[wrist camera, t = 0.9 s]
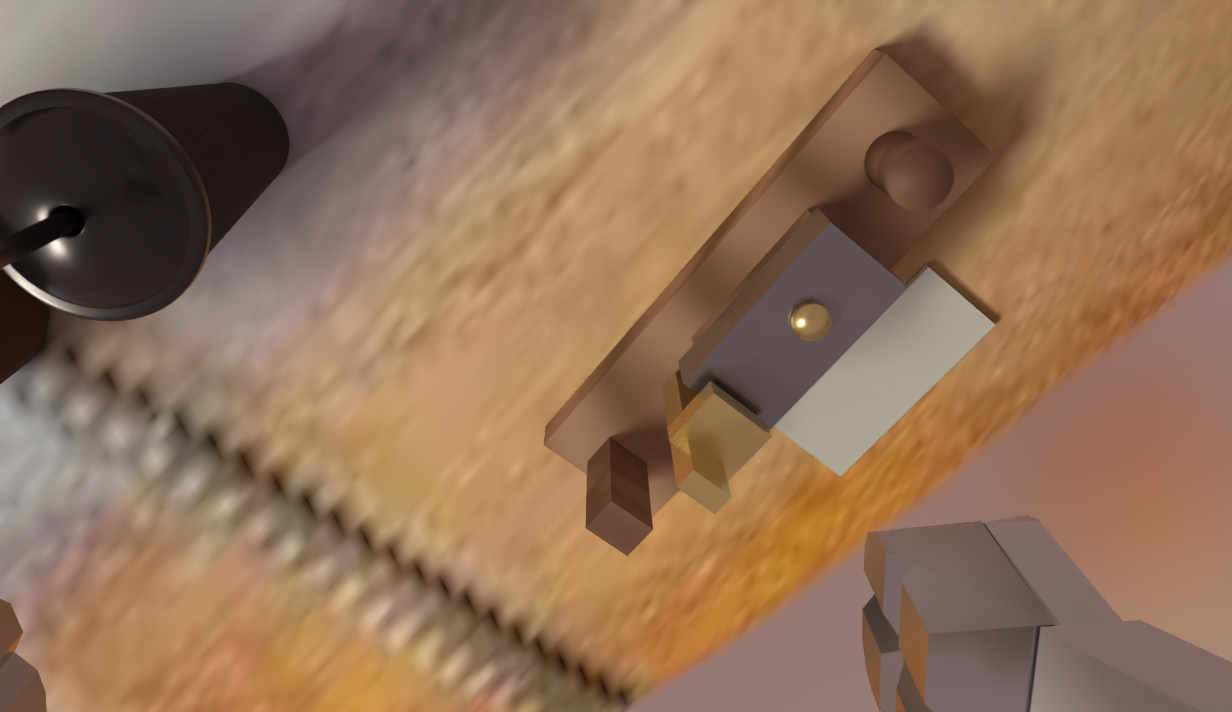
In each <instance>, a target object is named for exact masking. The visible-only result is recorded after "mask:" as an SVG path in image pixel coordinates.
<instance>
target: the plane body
mask: <svg viewBox="0 0 1232 712" xmlns="http://www.w3.org/2000/svg"><path fill="white" fill-rule="evenodd" d="M996 158H997V156H996V155H995V154H994V153H992V152H991V151H990V150H989V149H988V148H987V147H986V146H985V145H984V144H983V143H982V142H981V141H980V140H978V139H977V138H976V137H975V136H974V135H973V134H972V133H971V132H970V131H969V130H968V129H967V128H966V127H965V126H963V125H962V124H961V123H960V122H959V121H958V120H957V119H956V118H955V117H954V116H953V115H952V114H951V113H950V112H948V111H947V110H946V109H945V108H944V107H943V106H942V105H941V104H940V103H939V102H938V101H937V100H936V99H934V98H933V97H932V96H931V95H930V94H929V93H928V92H927V91H926V90H925V89H924V88H923V87H922V86H921V85H919V84H918V83H917V82H916V81H915V80H914V79H913V78H912V77H911V76H910V75H909V74H908V73H907V72H906V71H904V70H903V69H902V68H901V67H900V66H899V65H898V64H897V63H896V62H895V61H894V60H893V59H892V58H890V57H889V56H888V55H887V54H886V53H883V52H880V51H877V50H875V49H873V51H872V52H871V53H870V54H869V55H868V56H867V57H866V59H865V60H864V61H863V62H862V63H861V64H860V65H859V67H858V68H857V69H856V70H855V71H854V72H853V74H852V75H851V76H850V77H849V78H848V79H847V80H846V82H845V83H844V84H843V85H842V86H841V87H840V88H839V90H838V91H837V92H836V93H835V94H834V95H833V97H832V98H831V99H830V100H829V101H828V102H827V103H826V105H825V106H824V107H823V108H822V109H821V110H820V111H819V113H818V114H817V115H816V116H815V117H814V118H813V120H812V121H811V122H810V123H809V124H808V125H807V126H806V128H805V129H804V130H803V131H802V132H801V133H800V134H799V136H798V137H797V138H796V139H795V140H794V141H793V143H792V144H791V145H790V146H789V147H788V148H787V149H786V151H785V152H784V153H783V154H782V155H781V156H780V157H779V159H778V160H777V161H776V162H775V163H774V164H773V166H772V167H771V168H770V169H769V170H768V171H767V172H766V174H765V175H764V176H763V177H762V178H761V179H760V180H759V182H758V183H757V184H756V185H755V186H754V187H753V189H752V190H751V191H750V192H749V193H748V194H747V195H746V197H745V198H744V199H743V200H742V201H741V202H740V203H739V205H738V206H737V207H736V208H735V209H734V210H733V212H732V213H731V214H730V215H729V216H728V217H727V218H726V220H725V221H724V222H723V223H722V224H721V225H720V227H719V228H718V229H717V230H716V231H715V232H714V233H713V235H712V236H711V237H710V238H709V239H708V240H707V241H706V243H705V244H704V245H703V246H702V247H701V248H700V250H699V251H698V252H697V253H696V254H695V255H694V256H693V258H692V259H691V260H690V261H689V262H688V263H687V264H686V266H685V267H684V268H683V269H682V270H681V271H680V273H679V274H678V275H677V276H676V277H675V278H674V279H673V281H672V282H671V283H670V284H669V285H668V286H667V287H666V289H665V290H664V291H663V292H662V293H661V294H660V296H659V297H658V298H657V299H656V300H655V301H654V302H653V304H652V305H651V306H650V307H649V308H648V309H647V310H646V312H645V313H644V314H643V315H642V316H641V317H640V319H639V320H638V321H637V322H636V323H635V324H634V325H633V327H632V328H631V329H630V330H629V331H628V332H627V333H626V335H625V336H624V337H623V338H622V339H621V340H620V342H619V343H618V344H617V345H616V346H615V347H614V348H613V350H612V351H611V352H610V353H609V354H608V355H607V356H606V358H605V359H604V360H603V361H602V362H601V363H600V365H599V366H598V367H597V368H596V369H595V370H594V371H593V373H592V374H591V375H590V376H589V377H588V378H587V379H586V381H585V382H584V383H583V384H582V385H581V386H580V388H579V389H578V390H577V391H576V392H575V393H574V394H573V396H572V397H571V398H570V399H569V400H568V401H567V403H566V404H565V405H564V406H563V407H562V408H561V409H560V411H559V412H558V413H557V414H556V415H555V416H554V417H553V419H552V420H551V421H550V422H549V423H548V424H547V426H546V429H545V438H544V445H545V446H546V447H548V448H549V449H551V450H552V451H554V452H555V453H556V454H558V455H559V456H561V457H562V458H564V459H565V460H567V461H568V462H570V463H571V464H572V465H574V466H575V467H577V468H578V469H580V470H581V471H583V472H584V473H586V474H587V496H586V529H588V530H589V531H591V532H592V533H594V534H595V535H597V536H598V537H600V538H601V539H603V540H604V541H606V542H607V543H609V544H610V545H612V546H613V547H615V548H616V549H618V550H619V551H621V552H622V553H624V554H625V555H627V556H628V555H629V554H630V553H631V552H632V551H633V550H634V549H635V548H636V547H637V546H638V545H639V544H640V542H641V541H642V540H643V539H644V538H645V537H646V536H647V535H648V534H649V533H650V532H651V531H652V530H653V525H652V518H653V517H654V516H655V515H656V513H657V512H658V511H659V510H660V509H661V508H662V507H663V506H664V505H665V504H666V503H667V502H668V501H669V500H670V499H671V498H672V497H673V496H674V495H675V494H676V493H677V492H678V490H679V488H677V486H676V479H675V473H674V466H673V459H672V452H671V445H670V441H669V437H668V430H667V427H668V424H667V417H666V410H665V403H664V397H663V390H662V386H663V385H664V384H665V383H666V382H667V381H668V379H669V378H670V377H671V376H672V375H673V374H674V373H675V372H676V373H678V374H679V375H680V376H681V372H680V367H679V362H678V361H679V360H680V359H681V358H682V357H683V356H684V354H685V353H686V352H687V351H688V350H689V349H690V348H691V347H692V346H693V344H694V343H695V342H696V341H697V340H698V339H699V338H700V337H701V336H702V334H703V333H704V332H705V331H706V330H707V329H708V328H709V327H710V326H711V325H712V323H713V322H714V321H715V320H716V319H717V318H718V317H719V316H720V315H721V313H722V312H723V311H724V310H725V309H726V308H727V307H728V306H729V305H730V303H731V302H732V301H733V300H734V299H735V298H736V297H737V296H738V295H739V293H740V292H741V291H742V290H743V289H744V288H745V287H746V286H747V285H748V284H749V282H750V281H751V280H752V279H753V278H754V277H755V276H756V275H757V274H758V272H759V271H760V270H761V269H762V268H763V267H764V266H765V265H766V264H767V262H768V261H769V260H770V259H771V258H772V257H773V256H774V255H775V254H776V252H777V251H778V250H779V249H780V248H781V247H782V246H783V245H784V244H785V242H786V241H787V240H788V239H789V238H790V237H791V236H792V235H793V234H794V233H795V231H796V230H797V229H798V228H799V227H800V226H801V225H802V224H803V223H804V221H805V220H806V219H807V218H808V217H809V216H810V215H811V214H812V213H813V211H814V210H815V209H816V208H817V207H818V208H819V209H820V210H822V211H823V212H824V213H825V214H826V215H827V216H829V217H830V218H831V219H832V220H833V221H835V222H836V223H837V224H838V225H839V226H840V227H842V228H843V229H844V230H845V231H846V232H847V233H849V234H850V235H851V236H852V237H853V238H855V239H856V240H857V241H858V242H859V243H860V244H862V245H863V246H864V247H865V248H866V249H867V250H869V251H870V252H871V253H872V254H873V255H875V256H876V257H877V258H878V259H879V260H880V261H882V262H883V263H884V264H885V265H886V266H888V267H889V268H890V269H891V268H892V267H893V266H894V265H895V264H896V262H897V261H898V260H899V259H900V258H901V257H902V256H903V255H904V254H905V253H906V252H907V251H908V250H909V249H910V248H911V247H912V246H913V245H914V244H915V243H916V242H917V240H918V239H919V238H920V237H921V236H922V235H923V234H924V233H925V232H926V231H927V230H928V229H929V228H930V227H931V226H932V225H933V224H934V223H935V222H936V221H937V220H938V219H939V217H940V216H941V215H942V214H943V213H944V212H945V211H946V210H947V209H948V208H949V207H950V206H951V205H952V204H953V203H954V202H955V201H956V200H957V199H958V198H959V197H960V196H961V194H962V193H963V192H964V191H965V190H966V189H967V188H968V187H969V186H970V185H971V184H972V183H973V182H974V181H975V180H976V179H977V178H978V177H979V176H980V175H981V174H982V173H983V171H984V170H985V169H986V168H987V167H988V166H989V165H990V164H991V163H992V162H993V161H994V160H995V159H996Z"/></svg>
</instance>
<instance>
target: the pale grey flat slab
mask: <svg viewBox="0 0 1232 712" xmlns="http://www.w3.org/2000/svg"><path fill="white" fill-rule="evenodd" d="M906 286H907V287H908V288H907V289H906V290H905V291H904V292H903V293H902V294H901V295H900V297H899V298H898V299H897V300H896V301H895V302H894V303H893V304H892V305H891V306H890V307H889V308H888V309H887V310H886V311H885V312H884V313H883V314H882V315H881V316H880V317H879V318H878V319H877V320H876V321H875V322H874V323H873V324H872V325H871V326H870V327H869V328H868V329H867V330H866V332H865V333H864V334H863V335H862V336H861V337H860V338H859V339H858V340H857V341H856V342H855V343H854V344H853V345H852V346H851V347H850V348H849V349H848V350H847V351H846V352H845V353H844V354H843V355H842V356H841V357H840V358H839V359H838V360H837V361H836V362H835V363H834V364H833V365H832V367H831V368H830V369H829V370H828V371H827V372H826V373H825V374H824V375H823V376H822V377H821V378H820V379H819V380H818V381H817V382H816V383H815V384H814V385H813V386H812V387H811V388H810V389H809V390H808V391H807V392H806V393H805V394H804V395H803V396H802V397H801V398H800V399H799V401H798V402H797V403H796V404H795V405H794V406H793V407H792V408H791V409H790V410H789V411H788V412H787V413H786V414H785V415H784V416H783V417H782V418H781V419H780V420H779V421H778V422H777V423H776V424H775V425H774V427H776V428H777V429H778V430H780V431H781V432H782V433H784V434H785V435H786V436H787V437H789V438H790V439H791V440H793V441H794V442H795V443H797V444H798V445H799V446H801V447H802V448H803V449H805V450H806V451H807V452H809V453H810V454H811V455H813V456H814V457H815V458H817V459H818V460H819V461H821V462H822V463H823V464H825V465H826V466H827V467H829V468H830V469H831V470H833V471H834V472H835V473H837V474H838V475H839V476H841V475H842V474H844V473H845V472H846V471H847V470H848V469H849V468H850V467H851V466H852V465H853V464H854V463H855V462H856V461H857V460H858V459H859V458H860V457H861V456H862V455H863V454H864V453H865V452H866V451H867V450H868V449H869V448H870V447H871V446H872V445H873V444H874V443H875V442H876V441H877V440H878V439H879V438H880V437H881V436H882V435H883V434H884V433H885V432H887V431H888V430H889V429H890V428H891V427H892V426H893V425H894V424H895V423H896V422H897V421H898V420H899V419H900V418H901V417H902V416H903V415H904V414H905V413H906V412H907V411H908V410H909V409H910V408H911V407H912V406H913V405H914V404H915V403H916V402H917V401H918V400H919V399H920V398H921V397H922V396H923V395H924V394H925V393H926V392H927V391H929V390H930V389H931V388H932V387H933V386H934V385H935V384H936V383H937V382H938V381H939V380H940V379H941V378H942V377H943V376H944V375H945V374H946V373H947V372H948V371H949V370H950V369H951V368H952V367H953V366H954V365H955V364H956V363H957V362H958V361H959V360H960V359H961V358H962V357H963V356H964V355H965V354H966V353H967V352H968V351H969V350H971V349H972V348H973V347H974V346H975V345H976V344H977V343H978V342H979V341H980V340H981V339H982V338H983V337H984V336H985V335H986V334H987V333H988V332H989V331H990V330H991V329H992V328H993V327H994V326H995V324H994V323H993V322H992V321H991V320H990V319H988V318H987V317H986V316H985V315H984V314H983V313H981V312H980V311H979V310H978V309H977V308H976V307H974V306H973V305H972V304H971V303H970V302H969V301H968V300H966V299H965V298H964V297H963V296H962V295H961V294H959V293H958V292H957V291H956V290H955V289H954V288H952V287H951V286H950V285H949V284H948V283H947V282H946V281H944V280H943V279H942V278H941V277H940V276H939V275H937V274H936V273H935V272H934V271H933V270H932V269H930V268H929V267H928V266H927V265H925V266H924V267H923V268H922V269H921V270H920V271H919V272H918V273H917V274H916V275H915V276H914V277H913V278H912V279H911V280H910V281H909V282H908V283H907V285H906Z"/></svg>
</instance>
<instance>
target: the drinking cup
mask: <svg viewBox="0 0 1232 712" xmlns="http://www.w3.org/2000/svg"><path fill="white" fill-rule="evenodd" d="M288 151H289V139H288V133H287V129H286V126H285V123H284V121H283V119H282V117H281V115H280V114H279V112H278V111H277V109H276V108H275V107H274V105H273V104H272V103H271V102H270V101H269V100H268V99H267V98H265V97H264V96H263V95H261V94H260V93H258V92H257V91H255V90H253V89H251V88H248V87H246V86H243V85H239V84H233V83H220V84H207V85H195V86H183V87H171V88H159V89H146V90H134V91H122V92H110V93H100V92H95V91H91V90H85V89H78V88H54V89H47V90H41V91H36V92H33V93H29V94H26V95H23V96H21V97H18V98H16V99H14V100H12V101H10V102H8V103H6V104H5V105H3V106H2V107H0V270H1V271H2V272H3V273H4V274H5V275H6V276H7V277H8V278H9V279H10V280H11V281H12V282H13V283H14V284H15V285H17V286H18V287H19V288H20V289H21V290H23V291H24V292H26V293H27V294H29V295H30V296H31V297H33V298H35V299H36V300H38V301H40V302H41V303H43V304H45V305H47V306H49V307H51V308H53V309H56V310H58V311H61V312H63V313H66V314H69V315H72V316H76V317H80V318H85V319H90V320H98V321H124V320H131V319H136V318H140V317H144V316H147V315H150V314H152V313H155V312H157V311H159V310H161V309H163V308H165V307H166V306H168V305H169V304H171V303H172V302H174V301H175V300H176V299H177V298H179V297H180V296H181V295H182V294H183V293H184V292H185V291H186V290H187V289H188V288H189V287H190V286H191V285H192V283H193V282H194V281H195V279H196V278H197V276H198V275H199V273H200V271H201V269H202V267H203V265H204V263H205V260H206V257H207V255H208V254H209V252H210V251H211V250H212V249H213V248H214V247H215V246H216V245H217V243H218V242H219V241H220V240H221V239H222V238H223V237H224V236H225V234H226V233H227V232H228V231H229V230H230V229H231V228H232V226H233V225H234V224H235V223H236V222H237V221H238V220H239V219H240V217H241V216H242V215H243V214H244V213H245V212H246V211H247V209H248V208H249V207H250V206H251V205H252V204H253V203H254V202H255V200H256V199H257V198H258V197H259V196H260V195H261V194H262V193H263V191H264V190H265V189H266V188H267V187H268V186H269V185H270V183H271V182H272V181H273V180H274V179H275V178H276V177H277V176H278V174H279V173H280V172H281V170H282V169H283V167H284V165H285V162H286V160H287V156H288Z"/></svg>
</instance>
